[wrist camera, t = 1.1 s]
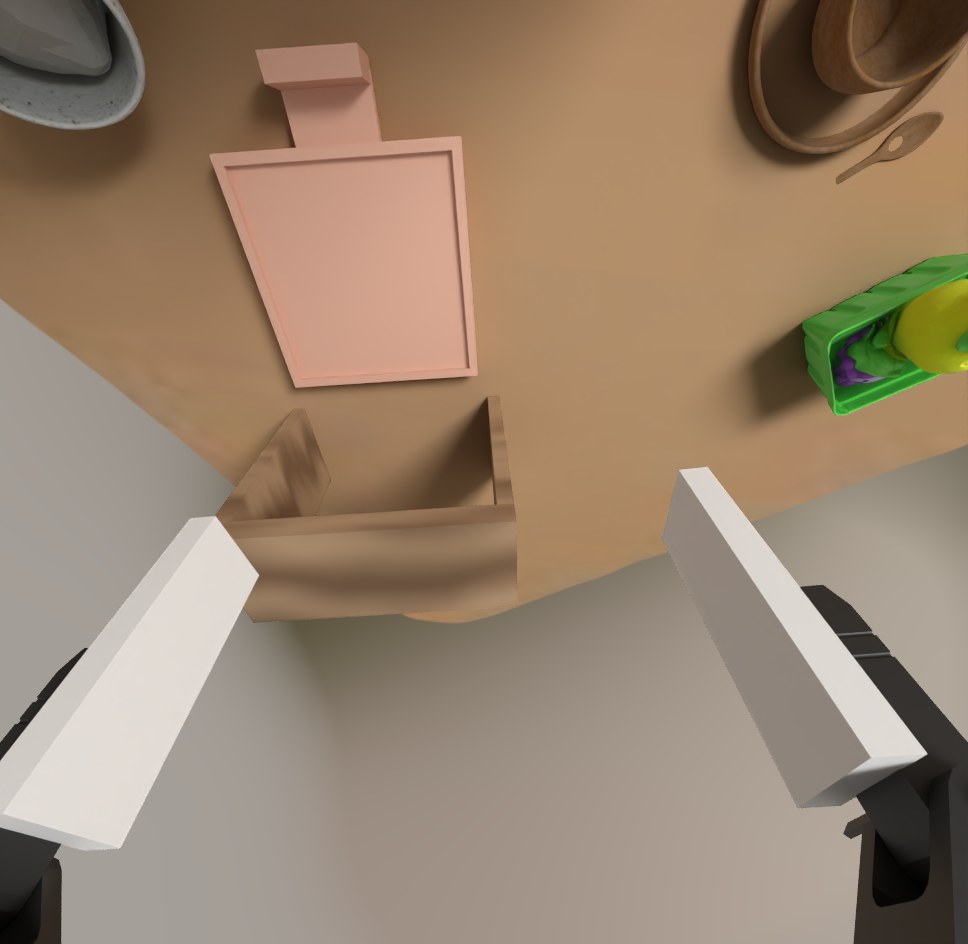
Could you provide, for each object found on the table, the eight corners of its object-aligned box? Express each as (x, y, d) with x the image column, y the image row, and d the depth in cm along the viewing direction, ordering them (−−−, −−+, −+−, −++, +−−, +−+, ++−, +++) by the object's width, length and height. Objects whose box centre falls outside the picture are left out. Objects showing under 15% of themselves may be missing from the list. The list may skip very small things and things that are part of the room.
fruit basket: (792, 392, 35) (903, 468, 26) (779, 303, 31) (909, 358, 22) (946, 322, 32) (1133, 381, 23) (957, 210, 27) (1198, 229, 18)
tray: (191, 69, 22) (158, 57, 20) (455, 50, 22) (453, 35, 19) (302, 379, 33) (289, 395, 31) (477, 367, 33) (478, 383, 31)
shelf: (292, 409, 35) (196, 541, 22) (499, 396, 35) (516, 521, 22) (320, 481, 40) (253, 622, 27) (501, 469, 39) (517, 606, 27)
